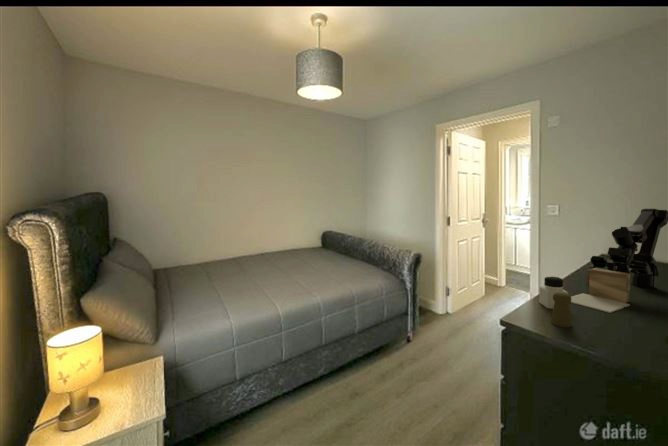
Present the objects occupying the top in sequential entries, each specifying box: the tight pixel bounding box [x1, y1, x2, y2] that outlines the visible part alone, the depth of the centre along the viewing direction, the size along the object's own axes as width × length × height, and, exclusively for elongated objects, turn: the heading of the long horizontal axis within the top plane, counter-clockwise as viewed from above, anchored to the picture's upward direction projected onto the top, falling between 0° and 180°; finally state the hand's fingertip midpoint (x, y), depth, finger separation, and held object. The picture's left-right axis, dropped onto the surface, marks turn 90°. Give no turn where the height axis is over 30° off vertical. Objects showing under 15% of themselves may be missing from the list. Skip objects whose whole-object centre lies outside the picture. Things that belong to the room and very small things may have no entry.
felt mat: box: [570, 292, 631, 314], centre depth 121 cm, size 16×16×1 cm
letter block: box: [588, 267, 631, 304], centre depth 125 cm, size 4×12×12 cm, turn 25°
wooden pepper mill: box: [550, 293, 573, 328], centre depth 102 cm, size 6×6×11 cm
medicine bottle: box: [538, 275, 569, 310], centre depth 118 cm, size 7×7×12 cm
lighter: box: [586, 263, 597, 286], centre depth 145 cm, size 8×3×10 cm, turn 117°
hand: (611, 279), depth 126 cm, fingers closed
